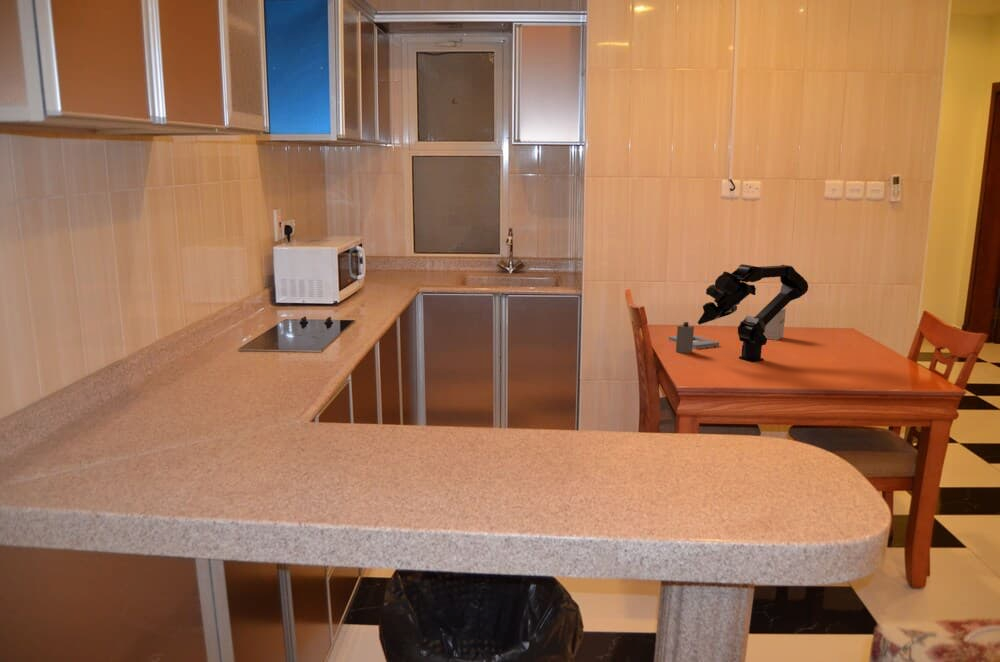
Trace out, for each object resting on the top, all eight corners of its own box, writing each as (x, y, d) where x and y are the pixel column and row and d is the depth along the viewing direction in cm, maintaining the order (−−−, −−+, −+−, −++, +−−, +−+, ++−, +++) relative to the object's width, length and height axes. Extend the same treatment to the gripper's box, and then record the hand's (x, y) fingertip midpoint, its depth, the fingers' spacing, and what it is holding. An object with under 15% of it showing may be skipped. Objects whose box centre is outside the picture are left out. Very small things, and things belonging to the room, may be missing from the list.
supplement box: (777, 340, 320) (780, 310, 318) (759, 337, 325) (762, 308, 322) (783, 337, 326) (786, 307, 323) (766, 335, 331) (768, 305, 328)
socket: (718, 346, 308) (719, 342, 308) (695, 348, 303) (695, 345, 302) (691, 337, 322) (691, 334, 322) (668, 340, 316) (668, 336, 316)
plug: (692, 351, 298) (694, 322, 295) (686, 354, 294) (688, 324, 292) (681, 349, 301) (683, 320, 298) (675, 351, 297) (677, 322, 295)
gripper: (731, 275, 290) (701, 301, 299) (709, 281, 276) (679, 307, 285) (750, 299, 287) (719, 324, 296) (729, 306, 273) (697, 332, 282)
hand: (703, 321), depth 290 cm, fingers open, 9 cm apart
